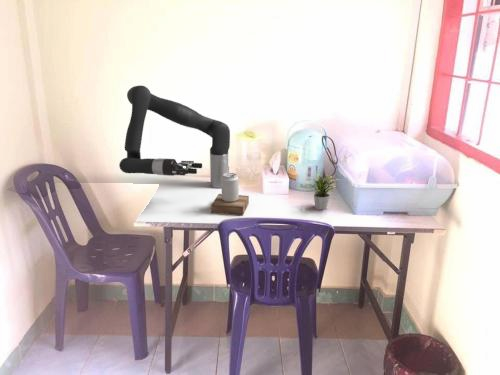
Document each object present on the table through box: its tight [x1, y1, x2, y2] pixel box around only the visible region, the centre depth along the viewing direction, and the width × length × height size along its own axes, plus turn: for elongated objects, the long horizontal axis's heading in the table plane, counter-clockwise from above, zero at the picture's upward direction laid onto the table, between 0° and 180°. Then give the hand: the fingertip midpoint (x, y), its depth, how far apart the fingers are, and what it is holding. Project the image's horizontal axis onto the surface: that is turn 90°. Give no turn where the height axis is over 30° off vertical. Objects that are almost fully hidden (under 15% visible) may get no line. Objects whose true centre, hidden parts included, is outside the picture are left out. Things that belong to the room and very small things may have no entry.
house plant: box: [308, 173, 340, 211], centre depth 194 cm, size 14×14×16 cm
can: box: [221, 172, 240, 202], centre depth 192 cm, size 8×8×12 cm
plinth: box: [210, 193, 250, 216], centre depth 195 cm, size 14×14×4 cm
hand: (199, 168), depth 193 cm, fingers open, 8 cm apart
